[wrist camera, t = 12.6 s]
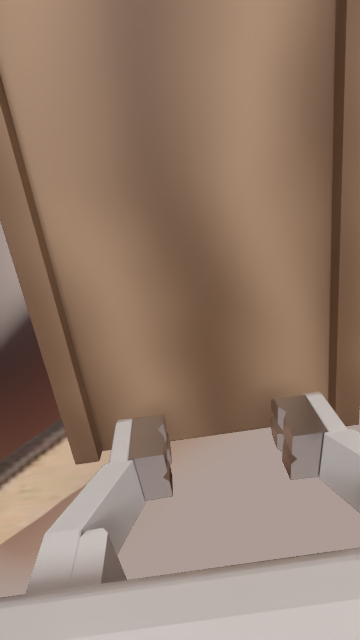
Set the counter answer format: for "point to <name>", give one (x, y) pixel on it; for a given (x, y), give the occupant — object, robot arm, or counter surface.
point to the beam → (184, 206)
